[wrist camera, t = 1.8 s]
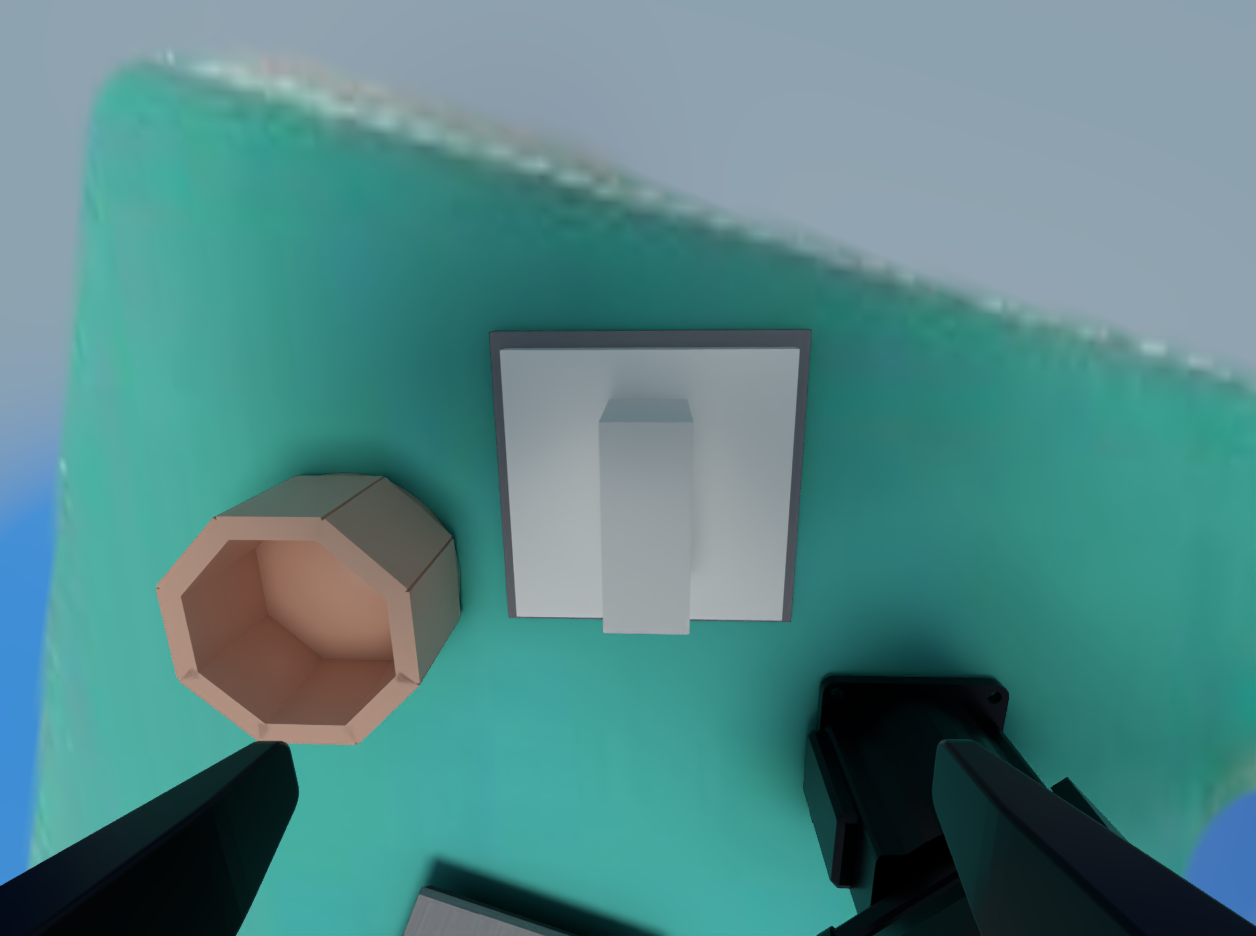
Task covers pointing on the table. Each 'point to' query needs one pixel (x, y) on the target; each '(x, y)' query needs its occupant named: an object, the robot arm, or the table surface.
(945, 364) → the table surface
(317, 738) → the bowl
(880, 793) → the robot arm
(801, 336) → the mat
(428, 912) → the electrical outlet
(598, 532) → the lid
